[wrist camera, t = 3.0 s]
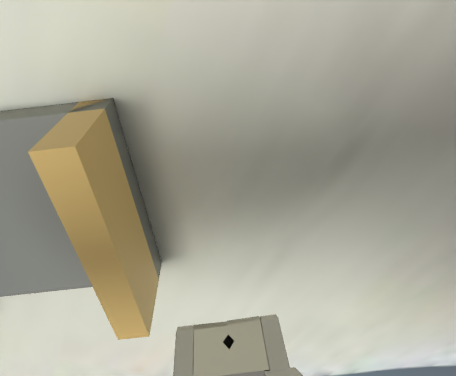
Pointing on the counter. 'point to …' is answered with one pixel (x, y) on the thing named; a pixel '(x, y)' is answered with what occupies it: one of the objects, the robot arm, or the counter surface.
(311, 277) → the counter surface
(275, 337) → the robot arm
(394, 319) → the counter surface
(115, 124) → the grey board with lip
